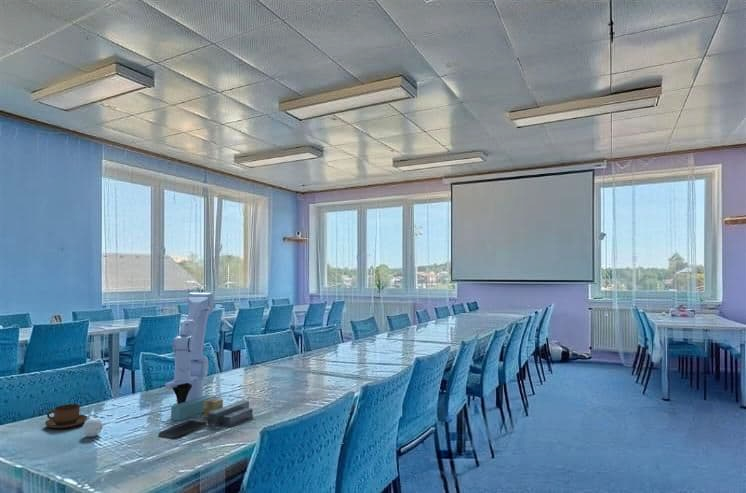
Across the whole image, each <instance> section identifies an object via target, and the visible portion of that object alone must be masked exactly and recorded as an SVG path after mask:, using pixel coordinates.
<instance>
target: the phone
mask: <svg viewBox="0 0 746 493" xmlns="http://www.w3.org/2000/svg"><path fill="white" fill-rule="evenodd" d="M204 426H205V427H207V426H208V422H205V421H197V420H187V421H184V422H182V423H180V424H176V425H175V426H172V427H170V428H167V429H165V430H163V431H160V432H158V437H159V438H160V437H162V438H167V439H173V440H175V439H176V440H177V439H180V438H182V437H185V436H186V435H189V434H191V433H193V431H194V432H195V430H196V431H198V430H200V428H201V429H203V428H205V427H204ZM202 427H203V428H202Z"/></svg>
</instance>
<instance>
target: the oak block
mask: <svg viewBox="0 0 746 493" xmlns="http://www.w3.org/2000/svg"><path fill="white" fill-rule="evenodd" d="M223 402H224V399H222V398H217V397H216V398H211V399H208V400H206V401H204V412H203V418H206V419H208V413H209V412H211V411H214V410H217V409H220V408H222V407H224V406H223V404H224V403H223Z"/></svg>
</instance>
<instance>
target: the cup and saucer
mask: <svg viewBox="0 0 746 493" xmlns="http://www.w3.org/2000/svg"><path fill="white" fill-rule="evenodd" d="M80 407H81V405H80V404H76V403H75V404H74V403H73V404H62V405H59V406H56V407H54V408H53V409H51V410H48V411H47V413H46V417H47V418H48V419H47V420H46V421H45V422H44V423H45V424H44V425H45V426H46V427H48V428H51V429H68V428H74V427H77V426H80V425H82V424H83V423H85V422H86V421H87V420H88V416H86V415H83V414H80V410H81V408H80ZM50 413H53V416H50Z"/></svg>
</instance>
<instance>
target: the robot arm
mask: <svg viewBox="0 0 746 493" xmlns="http://www.w3.org/2000/svg"><path fill="white" fill-rule="evenodd" d="M186 302H187V307H188V309H189V310H188V313H187V317H186V319H185V320H184V321H183V322H182V324H181V327H180V329H179V332H178V335H177V336H176V337H174V339H173V341H172V342H173V343H172V349H173V356H174V374H173V380H171V381H169V382H166V383H165V384H164V389H165V390H171V389H172V390H173V392H174V394H175V397H176V402H177V404H180V403H183V402H186V401H190V400H193V399H196V398H199V397H202V396H204V378H206V377H207V376H208V374H209V358H208V357H207V356H206V355H204V353H203V352H204V345H205V338H206V332H207V331H206V330H207V324H208V320H209V315H212V314H213V311H214V307H215V306H214V305H215V296H214V293H213V292H192V291H191V292H189V293H188V294H187V298H186Z"/></svg>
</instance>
